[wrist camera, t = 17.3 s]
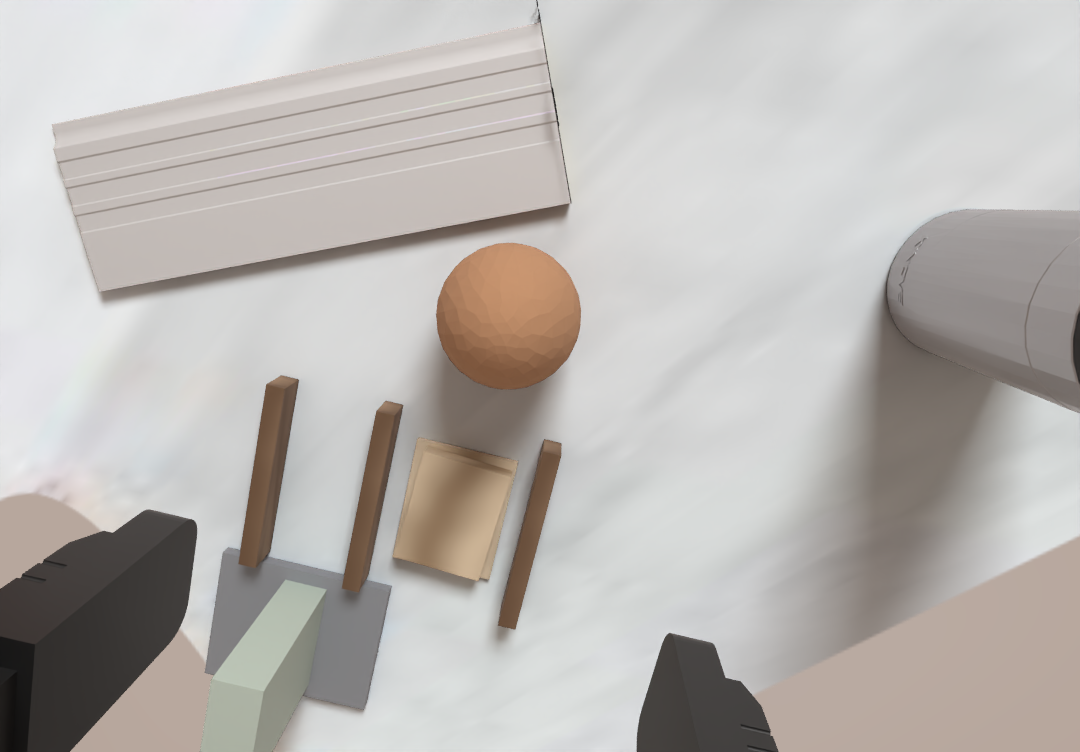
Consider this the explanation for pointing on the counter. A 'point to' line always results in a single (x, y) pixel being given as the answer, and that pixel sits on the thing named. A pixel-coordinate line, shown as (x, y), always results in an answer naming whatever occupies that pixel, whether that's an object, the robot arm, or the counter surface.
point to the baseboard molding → (316, 159)
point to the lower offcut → (468, 453)
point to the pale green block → (265, 673)
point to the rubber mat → (342, 632)
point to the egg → (508, 316)
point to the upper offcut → (453, 513)
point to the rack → (372, 495)
